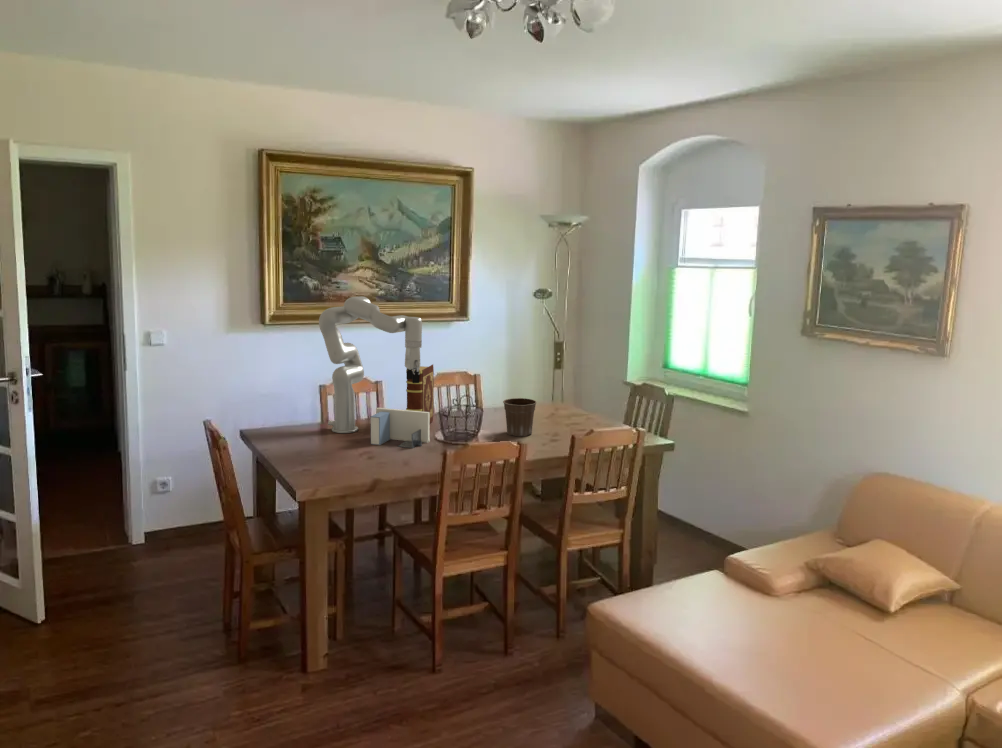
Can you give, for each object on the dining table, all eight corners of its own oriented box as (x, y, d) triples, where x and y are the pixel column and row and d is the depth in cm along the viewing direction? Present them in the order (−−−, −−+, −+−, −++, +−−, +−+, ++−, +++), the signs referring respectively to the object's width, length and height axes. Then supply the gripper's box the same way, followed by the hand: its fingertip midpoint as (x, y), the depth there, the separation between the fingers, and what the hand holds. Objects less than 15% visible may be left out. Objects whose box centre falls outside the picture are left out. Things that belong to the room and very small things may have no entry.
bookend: (397, 446, 348) (397, 432, 347) (406, 441, 357) (406, 427, 356) (417, 448, 345) (417, 434, 344) (425, 443, 355) (425, 429, 354)
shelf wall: (376, 437, 363) (375, 408, 360) (378, 436, 366) (378, 407, 363) (427, 442, 356) (427, 413, 353) (430, 441, 359) (430, 411, 356)
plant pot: (509, 438, 366) (510, 405, 364) (497, 430, 381) (498, 399, 378) (540, 436, 372) (542, 403, 369) (527, 428, 387) (528, 397, 384)
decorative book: (420, 431, 376) (420, 371, 371) (404, 430, 378) (404, 370, 373) (433, 421, 398) (434, 364, 393) (418, 420, 399) (419, 363, 394)
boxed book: (370, 444, 351) (370, 416, 349) (380, 438, 361) (380, 411, 359) (379, 445, 350) (379, 417, 347) (389, 439, 360) (389, 412, 358)
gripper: (400, 341, 359) (400, 378, 362) (410, 347, 343) (410, 384, 346) (416, 341, 362) (415, 377, 365) (426, 346, 346) (426, 384, 349)
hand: (412, 381), depth 355 cm, fingers open, 9 cm apart
